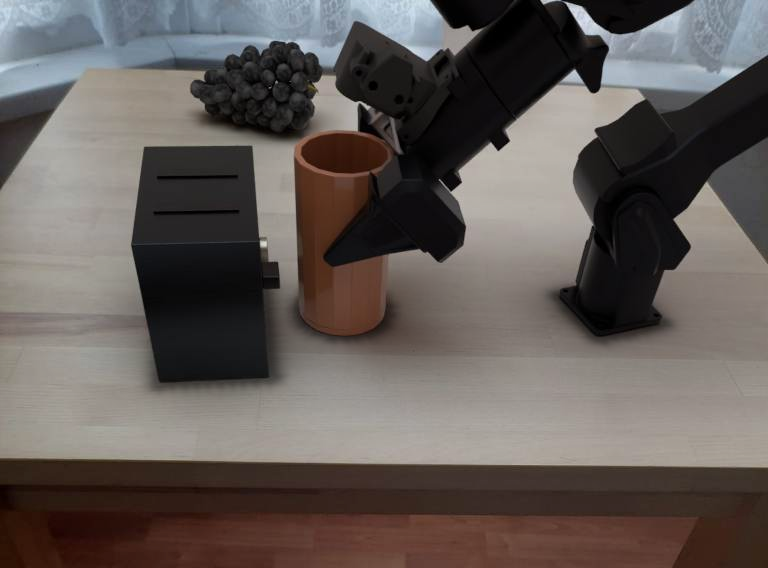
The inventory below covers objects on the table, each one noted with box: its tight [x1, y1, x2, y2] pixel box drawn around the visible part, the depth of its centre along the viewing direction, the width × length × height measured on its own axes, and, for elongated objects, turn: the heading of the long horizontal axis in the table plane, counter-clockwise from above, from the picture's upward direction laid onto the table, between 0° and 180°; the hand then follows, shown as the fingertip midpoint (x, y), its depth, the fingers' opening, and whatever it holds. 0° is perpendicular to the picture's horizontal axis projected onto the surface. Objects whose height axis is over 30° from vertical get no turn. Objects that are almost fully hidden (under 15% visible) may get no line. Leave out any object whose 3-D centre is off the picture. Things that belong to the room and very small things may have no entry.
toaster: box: [130, 145, 281, 383], centre depth 58 cm, size 9×14×11 cm, turn 8°
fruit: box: [189, 40, 324, 133], centre depth 85 cm, size 9×8×15 cm
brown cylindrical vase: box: [293, 129, 395, 337], centre depth 60 cm, size 7×7×13 cm
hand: (325, 235), depth 59 cm, fingers closed on brown cylindrical vase, 7 cm apart
